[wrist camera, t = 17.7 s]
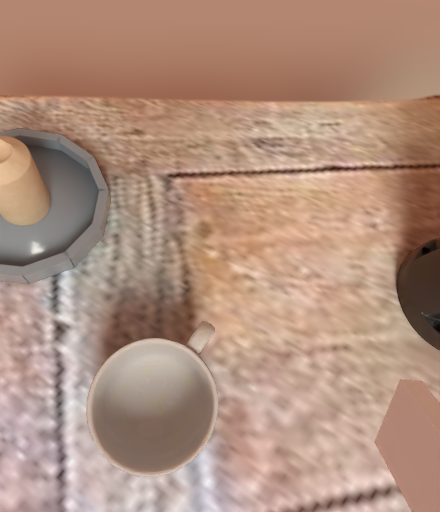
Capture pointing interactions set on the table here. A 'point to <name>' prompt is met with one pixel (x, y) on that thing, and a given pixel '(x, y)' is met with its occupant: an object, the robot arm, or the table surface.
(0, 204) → the candle
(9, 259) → the bowl
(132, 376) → the teacup
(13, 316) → the table surface
